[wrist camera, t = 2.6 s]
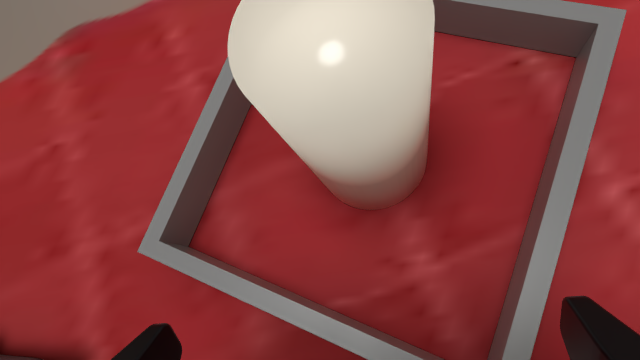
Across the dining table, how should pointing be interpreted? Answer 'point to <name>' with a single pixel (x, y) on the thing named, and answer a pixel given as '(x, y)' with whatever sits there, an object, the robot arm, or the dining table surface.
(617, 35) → the frame
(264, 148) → the dining table surface
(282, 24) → the white pillar candle
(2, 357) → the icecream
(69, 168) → the dining table surface
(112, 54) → the dining table surface
